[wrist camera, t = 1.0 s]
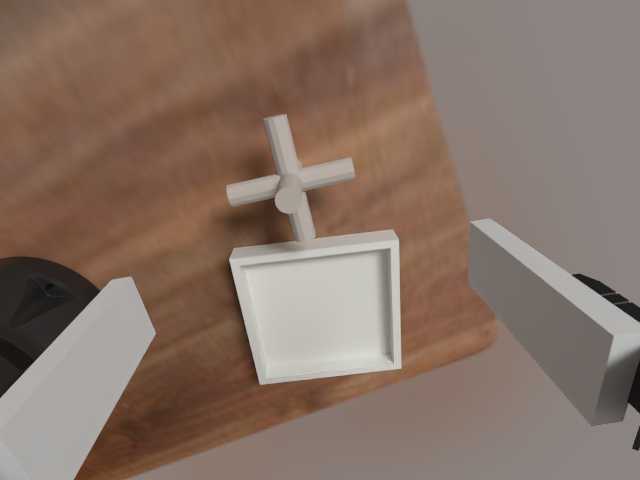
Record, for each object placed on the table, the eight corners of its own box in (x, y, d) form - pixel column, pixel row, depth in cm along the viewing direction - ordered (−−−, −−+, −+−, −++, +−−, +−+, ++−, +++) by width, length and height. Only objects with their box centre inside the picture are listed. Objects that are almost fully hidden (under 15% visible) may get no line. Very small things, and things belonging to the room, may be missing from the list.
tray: (262, 368, 42) (259, 384, 40) (233, 248, 36) (229, 259, 33) (396, 353, 42) (401, 368, 40) (392, 229, 35) (398, 239, 33)
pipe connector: (355, 206, 34) (373, 250, 25) (256, 227, 35) (239, 279, 26) (335, 98, 30) (348, 105, 21) (223, 124, 31) (189, 142, 22)
